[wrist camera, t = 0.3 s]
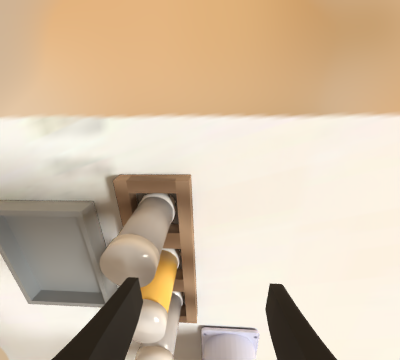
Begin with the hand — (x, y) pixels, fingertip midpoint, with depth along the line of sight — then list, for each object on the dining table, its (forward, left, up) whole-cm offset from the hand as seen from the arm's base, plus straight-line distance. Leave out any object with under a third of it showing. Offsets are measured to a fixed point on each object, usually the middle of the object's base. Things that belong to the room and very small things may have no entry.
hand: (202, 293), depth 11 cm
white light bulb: (0, +5, -10) cm, 11 cm away
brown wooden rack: (-7, +5, -10) cm, 13 cm away
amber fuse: (-7, +5, -10) cm, 13 cm away
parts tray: (-7, +18, -10) cm, 21 cm away
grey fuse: (-13, +5, -10) cm, 17 cm away
